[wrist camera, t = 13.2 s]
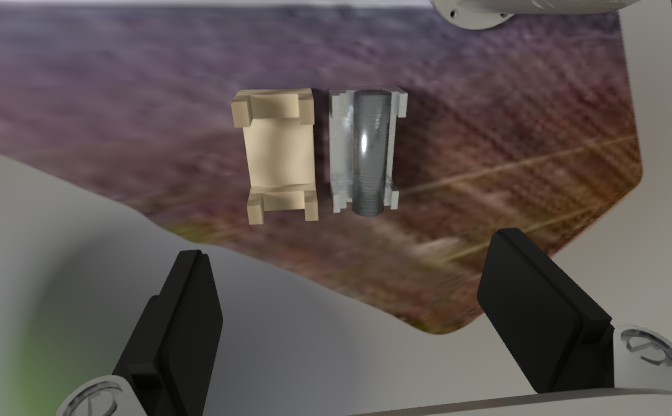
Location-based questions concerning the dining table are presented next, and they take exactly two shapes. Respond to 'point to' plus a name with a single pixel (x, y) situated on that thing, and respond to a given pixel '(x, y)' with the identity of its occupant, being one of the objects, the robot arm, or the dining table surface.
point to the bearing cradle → (278, 149)
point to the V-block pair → (343, 142)
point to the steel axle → (370, 150)
